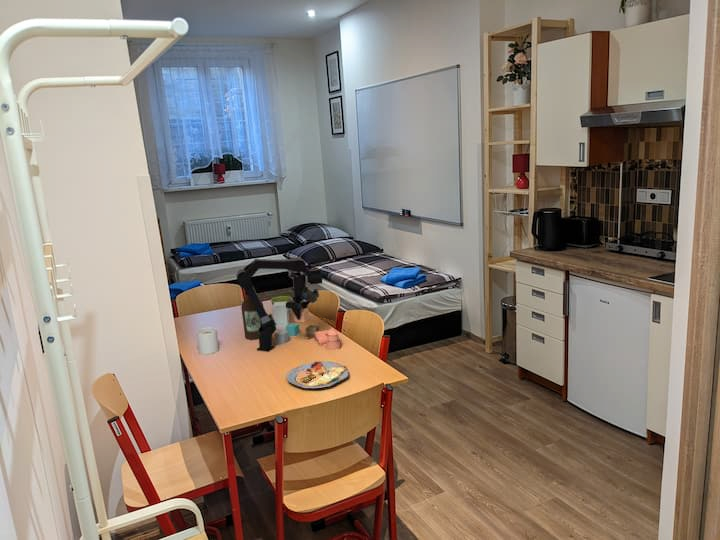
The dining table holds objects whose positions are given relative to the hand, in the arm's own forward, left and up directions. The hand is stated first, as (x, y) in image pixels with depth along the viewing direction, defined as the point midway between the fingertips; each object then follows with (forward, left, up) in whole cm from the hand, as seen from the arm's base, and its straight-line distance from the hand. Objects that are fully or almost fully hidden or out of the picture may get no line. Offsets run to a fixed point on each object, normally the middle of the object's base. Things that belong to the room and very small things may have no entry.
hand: (301, 317), depth 257 cm
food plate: (-33, -23, -14) cm, 42 cm away
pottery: (+3, -12, -13) cm, 18 cm away
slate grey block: (0, +11, -13) cm, 17 cm away
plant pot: (+32, +28, -13) cm, 45 cm away
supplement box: (+20, +22, -13) cm, 33 cm away
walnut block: (+11, 0, -13) cm, 17 cm away
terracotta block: (0, 0, -1) cm, 1 cm away
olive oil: (+3, +28, -13) cm, 31 cm away
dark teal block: (+11, +11, -13) cm, 20 cm away
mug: (-19, +39, -13) cm, 45 cm away
